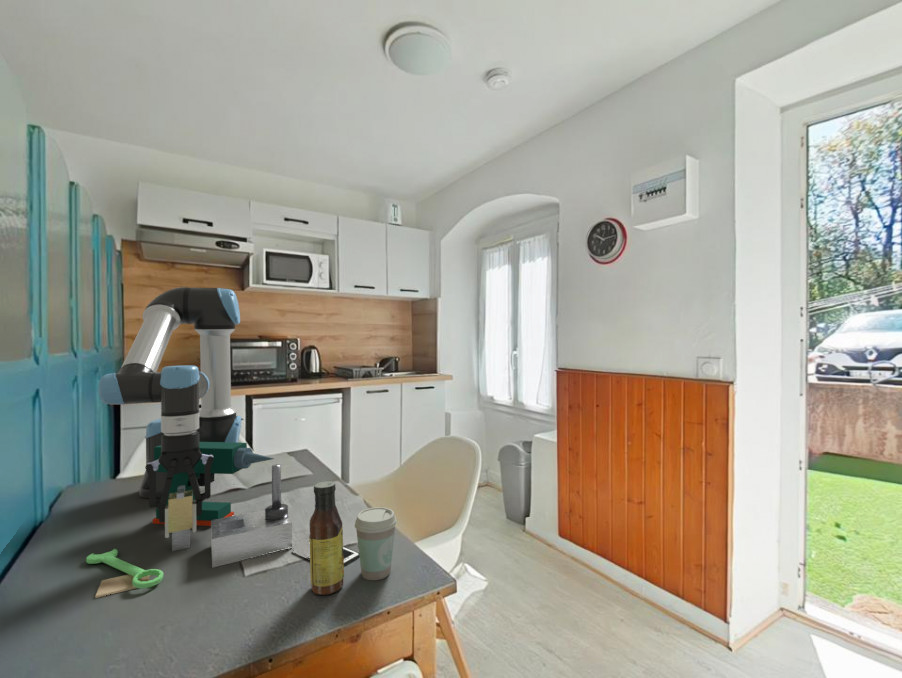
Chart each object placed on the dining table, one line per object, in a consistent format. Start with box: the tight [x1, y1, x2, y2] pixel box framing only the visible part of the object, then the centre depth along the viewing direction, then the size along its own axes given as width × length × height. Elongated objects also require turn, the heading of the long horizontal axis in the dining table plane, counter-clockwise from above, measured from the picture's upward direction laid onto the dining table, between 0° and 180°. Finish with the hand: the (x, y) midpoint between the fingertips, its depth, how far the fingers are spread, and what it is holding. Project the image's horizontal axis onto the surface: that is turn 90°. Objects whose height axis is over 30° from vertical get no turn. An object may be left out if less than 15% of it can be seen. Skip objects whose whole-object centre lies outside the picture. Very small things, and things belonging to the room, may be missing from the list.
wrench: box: [85, 548, 164, 589], centre depth 89 cm, size 25×2×5 cm
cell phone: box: [292, 545, 360, 567], centre depth 95 cm, size 8×15×1 cm, turn 55°
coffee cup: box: [354, 506, 398, 581], centre depth 88 cm, size 8×8×12 cm
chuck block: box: [210, 463, 293, 568], centre depth 99 cm, size 11×16×18 cm
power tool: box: [152, 442, 275, 527], centre depth 114 cm, size 32×7×20 cm, turn 84°
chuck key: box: [168, 485, 193, 552], centre depth 100 cm, size 6×5×13 cm
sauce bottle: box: [308, 480, 345, 596], centre depth 83 cm, size 7×6×20 cm
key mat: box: [94, 574, 151, 599], centre depth 84 cm, size 6×8×1 cm
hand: (181, 532), depth 100 cm, fingers closed on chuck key, 5 cm apart
